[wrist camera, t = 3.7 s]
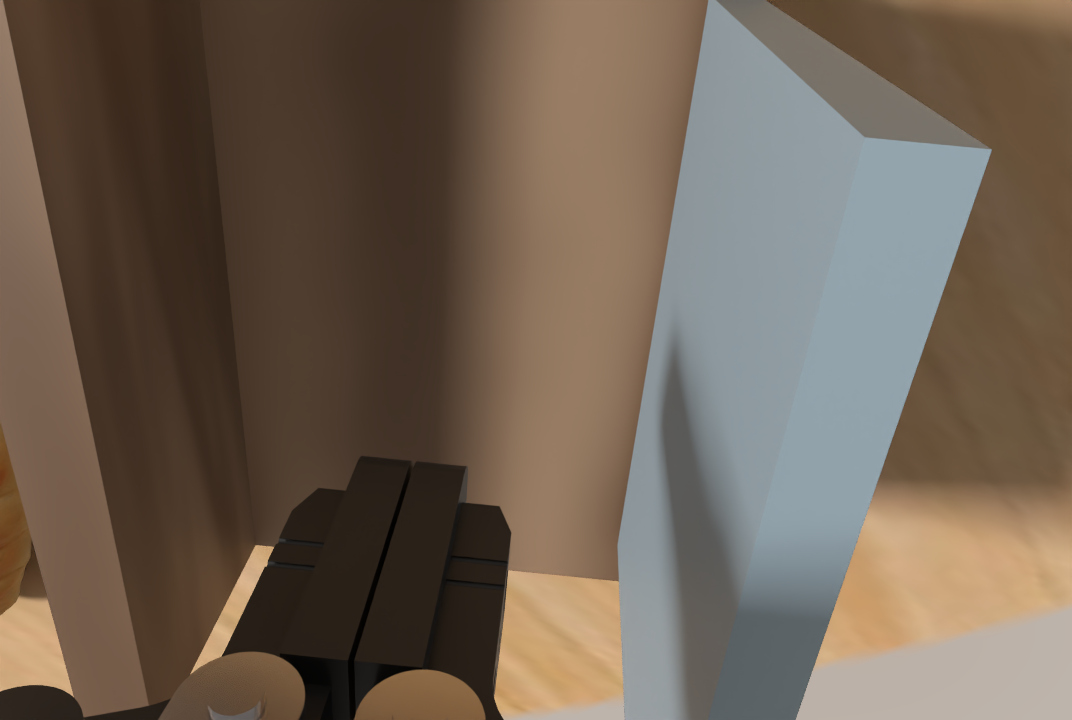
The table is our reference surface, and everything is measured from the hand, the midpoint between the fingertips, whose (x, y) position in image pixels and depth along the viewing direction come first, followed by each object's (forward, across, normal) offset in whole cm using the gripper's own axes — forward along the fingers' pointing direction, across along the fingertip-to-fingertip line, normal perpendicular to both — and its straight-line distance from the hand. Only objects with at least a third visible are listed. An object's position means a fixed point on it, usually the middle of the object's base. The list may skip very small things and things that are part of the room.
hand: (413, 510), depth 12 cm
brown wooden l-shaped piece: (+11, +1, 0) cm, 11 cm away
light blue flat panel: (+7, -5, 0) cm, 9 cm away
